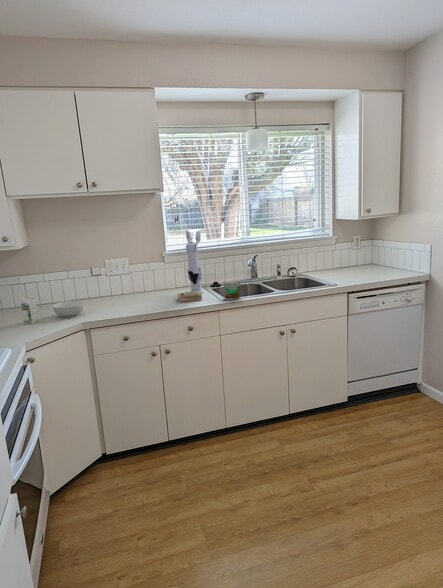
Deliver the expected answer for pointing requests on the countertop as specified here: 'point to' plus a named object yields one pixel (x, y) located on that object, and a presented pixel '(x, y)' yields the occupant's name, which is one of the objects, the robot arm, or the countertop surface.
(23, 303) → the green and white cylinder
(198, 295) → the box
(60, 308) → the cereal bowl
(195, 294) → the sage crate
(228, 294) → the food container
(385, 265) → the countertop surface
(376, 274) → the countertop surface
